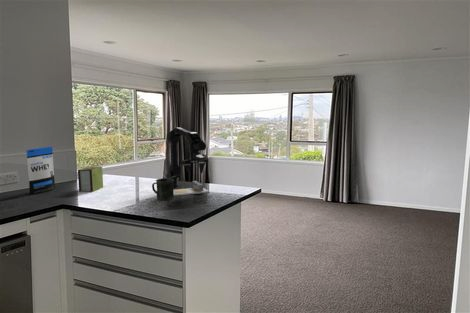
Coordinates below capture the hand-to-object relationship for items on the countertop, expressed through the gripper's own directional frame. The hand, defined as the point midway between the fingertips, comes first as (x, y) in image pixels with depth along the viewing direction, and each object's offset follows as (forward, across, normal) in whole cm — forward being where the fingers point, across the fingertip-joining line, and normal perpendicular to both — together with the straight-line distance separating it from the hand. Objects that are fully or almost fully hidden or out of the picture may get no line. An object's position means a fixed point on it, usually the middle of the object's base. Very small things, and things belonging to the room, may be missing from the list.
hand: (195, 174), depth 236 cm
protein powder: (+5, -75, +78) cm, 108 cm away
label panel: (+12, -2, +6) cm, 14 cm away
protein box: (+7, -48, +61) cm, 78 cm away
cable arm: (+10, +3, +4) cm, 12 cm away
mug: (+13, -25, +2) cm, 28 cm away
